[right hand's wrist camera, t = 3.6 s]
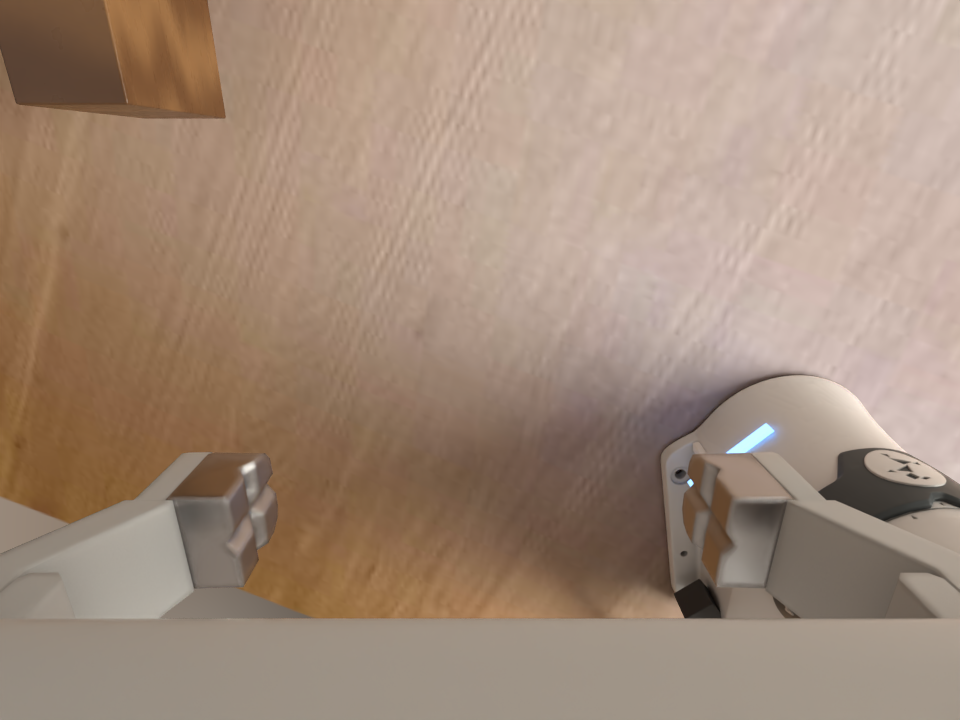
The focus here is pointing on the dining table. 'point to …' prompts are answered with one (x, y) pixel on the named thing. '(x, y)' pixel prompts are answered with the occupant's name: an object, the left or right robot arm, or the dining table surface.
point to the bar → (113, 56)
